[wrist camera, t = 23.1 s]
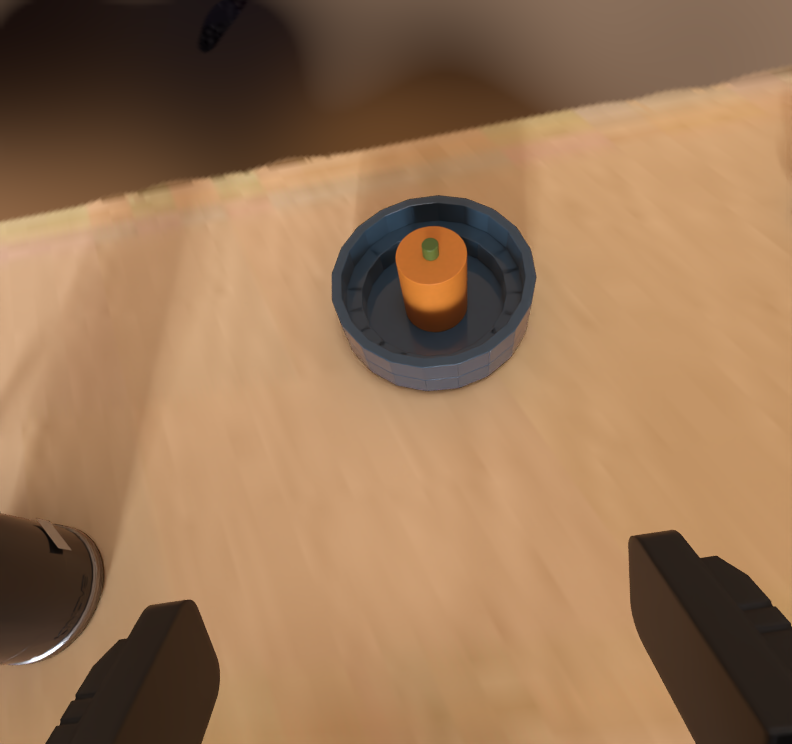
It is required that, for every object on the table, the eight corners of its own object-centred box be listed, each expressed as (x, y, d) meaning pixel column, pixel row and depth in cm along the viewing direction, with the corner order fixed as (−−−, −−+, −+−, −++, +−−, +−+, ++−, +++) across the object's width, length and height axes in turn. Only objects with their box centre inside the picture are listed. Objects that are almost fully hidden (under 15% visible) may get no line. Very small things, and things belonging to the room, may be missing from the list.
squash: (398, 326, 45) (384, 269, 37) (413, 275, 47) (403, 210, 39) (460, 337, 43) (458, 280, 36) (472, 284, 45) (473, 219, 38)
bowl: (321, 373, 44) (305, 346, 40) (372, 225, 50) (362, 186, 46) (511, 410, 41) (516, 385, 36) (541, 247, 47) (549, 207, 42)
